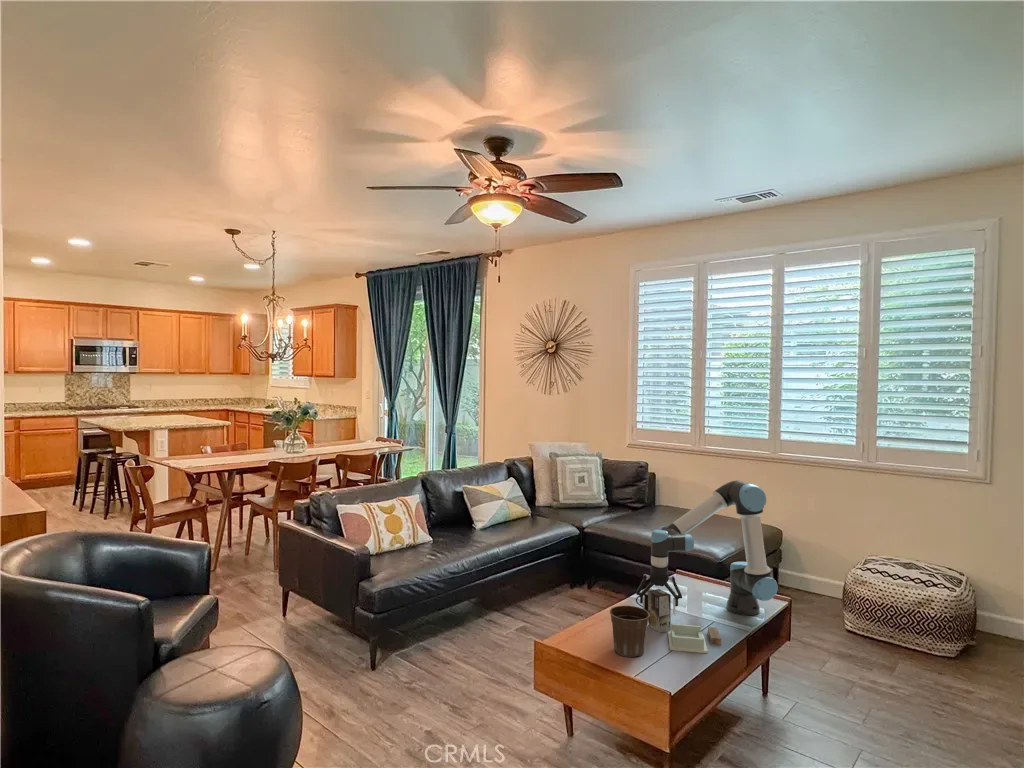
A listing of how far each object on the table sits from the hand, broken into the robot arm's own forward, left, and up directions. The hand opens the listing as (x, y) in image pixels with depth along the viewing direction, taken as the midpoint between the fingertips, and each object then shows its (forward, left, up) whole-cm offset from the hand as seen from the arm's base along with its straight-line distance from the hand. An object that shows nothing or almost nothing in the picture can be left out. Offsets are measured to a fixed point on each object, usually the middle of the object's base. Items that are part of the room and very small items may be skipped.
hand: (658, 611), depth 274 cm
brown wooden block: (-23, +7, -8) cm, 25 cm away
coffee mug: (+5, -18, -8) cm, 20 cm away
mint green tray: (-11, +14, -7) cm, 19 cm away
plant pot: (+13, +27, -8) cm, 31 cm away
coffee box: (0, 0, -8) cm, 8 cm away
